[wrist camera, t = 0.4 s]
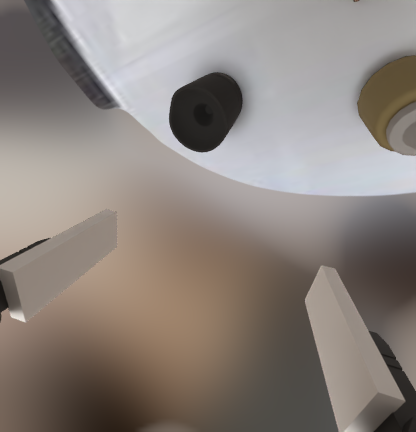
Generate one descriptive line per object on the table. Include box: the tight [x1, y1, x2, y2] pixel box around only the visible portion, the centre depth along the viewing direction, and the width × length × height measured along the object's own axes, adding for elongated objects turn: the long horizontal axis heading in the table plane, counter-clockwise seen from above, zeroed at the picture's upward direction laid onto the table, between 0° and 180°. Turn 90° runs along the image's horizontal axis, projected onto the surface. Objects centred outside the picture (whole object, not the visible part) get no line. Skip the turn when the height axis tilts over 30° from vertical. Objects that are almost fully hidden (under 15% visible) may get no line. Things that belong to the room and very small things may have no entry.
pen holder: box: [169, 72, 242, 152], centre depth 35 cm, size 9×9×10 cm
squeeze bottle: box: [357, 56, 416, 156], centre depth 23 cm, size 8×8×18 cm
